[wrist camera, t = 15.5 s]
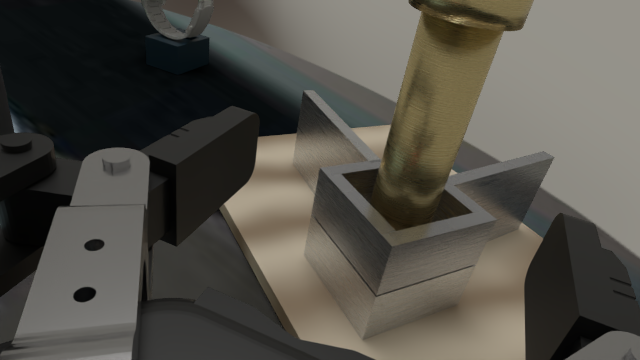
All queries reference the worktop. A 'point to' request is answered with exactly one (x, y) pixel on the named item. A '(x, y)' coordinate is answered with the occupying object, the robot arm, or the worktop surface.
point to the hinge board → (319, 306)
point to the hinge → (404, 245)
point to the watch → (177, 39)
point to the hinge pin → (438, 102)
